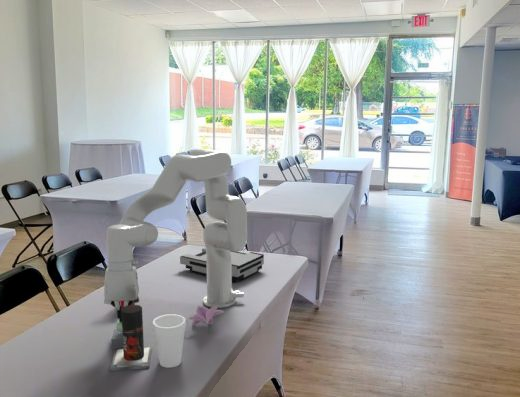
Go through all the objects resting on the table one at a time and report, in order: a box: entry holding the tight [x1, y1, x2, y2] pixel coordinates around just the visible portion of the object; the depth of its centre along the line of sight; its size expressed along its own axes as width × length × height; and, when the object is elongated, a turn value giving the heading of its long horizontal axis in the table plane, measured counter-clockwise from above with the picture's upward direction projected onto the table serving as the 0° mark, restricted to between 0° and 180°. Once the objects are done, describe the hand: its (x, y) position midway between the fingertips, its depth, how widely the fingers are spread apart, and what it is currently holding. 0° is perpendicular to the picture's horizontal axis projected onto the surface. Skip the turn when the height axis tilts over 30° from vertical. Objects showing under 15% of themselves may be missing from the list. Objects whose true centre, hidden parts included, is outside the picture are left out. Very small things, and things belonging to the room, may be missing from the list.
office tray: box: [179, 247, 265, 284], centre depth 223 cm, size 21×32×8 cm, turn 57°
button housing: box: [110, 328, 123, 349], centre depth 156 cm, size 7×7×3 cm
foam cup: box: [152, 313, 187, 369], centre depth 143 cm, size 10×9×13 cm
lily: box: [187, 305, 225, 335], centre depth 164 cm, size 12×12×10 cm
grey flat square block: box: [109, 346, 153, 372], centre depth 145 cm, size 11×11×2 cm
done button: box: [116, 319, 122, 332], centre depth 155 cm, size 4×4×2 cm
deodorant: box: [121, 304, 145, 361], centre depth 144 cm, size 6×6×15 cm
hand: (122, 320), depth 154 cm, fingers closed
